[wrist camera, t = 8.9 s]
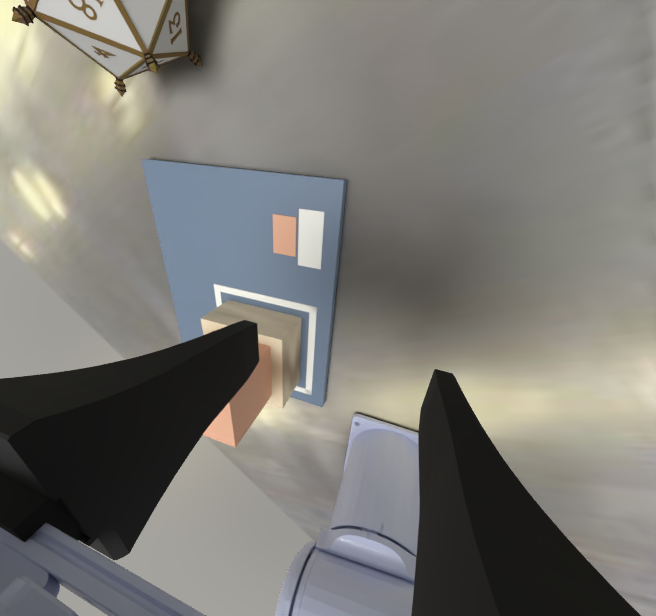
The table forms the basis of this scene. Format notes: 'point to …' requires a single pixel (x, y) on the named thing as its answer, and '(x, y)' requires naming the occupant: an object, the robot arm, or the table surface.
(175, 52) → the game die
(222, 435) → the terracotta cube
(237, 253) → the board
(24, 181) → the table surface
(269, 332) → the beech block
